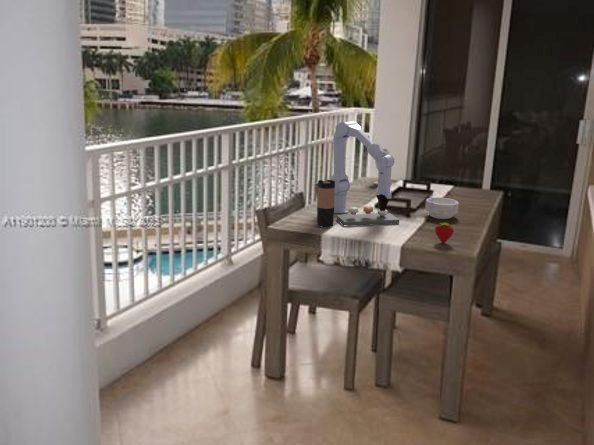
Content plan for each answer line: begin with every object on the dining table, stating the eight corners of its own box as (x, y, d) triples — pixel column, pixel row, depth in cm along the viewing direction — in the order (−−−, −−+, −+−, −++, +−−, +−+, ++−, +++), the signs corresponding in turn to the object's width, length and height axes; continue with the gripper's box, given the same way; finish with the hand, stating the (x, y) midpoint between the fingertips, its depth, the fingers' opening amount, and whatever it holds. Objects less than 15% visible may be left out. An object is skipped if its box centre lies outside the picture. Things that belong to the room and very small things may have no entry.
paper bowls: (462, 220, 273) (464, 204, 270) (431, 221, 270) (433, 204, 268) (449, 212, 287) (450, 196, 285) (420, 213, 285) (421, 197, 282)
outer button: (379, 217, 266) (379, 211, 265) (376, 215, 270) (376, 209, 269) (388, 217, 267) (388, 211, 266) (385, 214, 271) (385, 209, 270)
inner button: (350, 215, 263) (350, 209, 262) (347, 212, 267) (347, 207, 266) (359, 215, 264) (359, 209, 263) (356, 212, 268) (356, 206, 267)
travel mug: (328, 228, 255) (330, 183, 250) (313, 225, 259) (314, 181, 254) (336, 224, 262) (338, 181, 256) (322, 222, 265) (323, 179, 260)
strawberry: (450, 246, 234) (452, 222, 231) (431, 243, 237) (433, 219, 235) (454, 242, 239) (456, 219, 236) (436, 239, 242) (438, 216, 240)
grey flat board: (344, 226, 259) (344, 222, 259) (336, 219, 270) (336, 215, 270) (399, 223, 265) (399, 219, 264) (389, 217, 276) (389, 212, 276)
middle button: (365, 214, 264) (365, 209, 263) (361, 212, 268) (362, 206, 267) (374, 214, 265) (374, 208, 264) (370, 211, 269) (371, 206, 268)
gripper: (398, 184, 258) (396, 214, 262) (386, 178, 272) (385, 206, 275) (383, 185, 257) (381, 214, 260) (372, 178, 270) (371, 207, 274)
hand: (382, 210), depth 268 cm, fingers closed, pressing on outer button
